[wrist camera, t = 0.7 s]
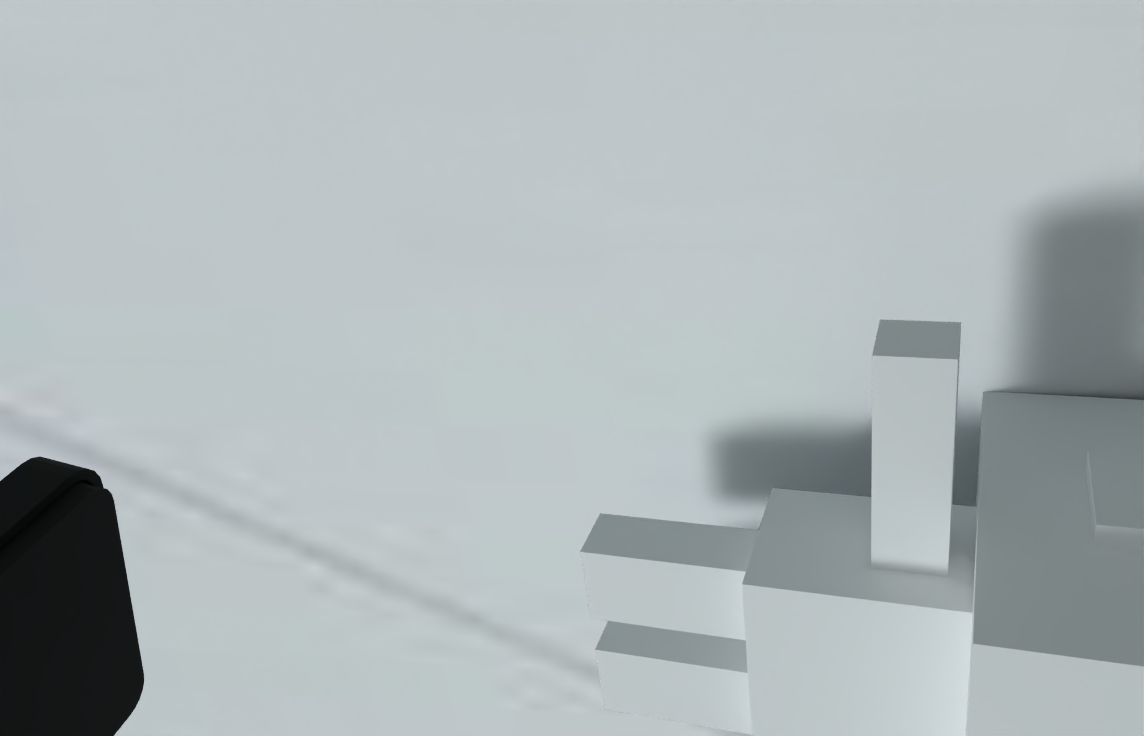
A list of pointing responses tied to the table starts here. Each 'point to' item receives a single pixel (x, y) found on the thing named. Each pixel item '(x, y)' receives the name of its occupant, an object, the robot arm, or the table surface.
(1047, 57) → the table surface
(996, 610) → the blocky voxel creature
